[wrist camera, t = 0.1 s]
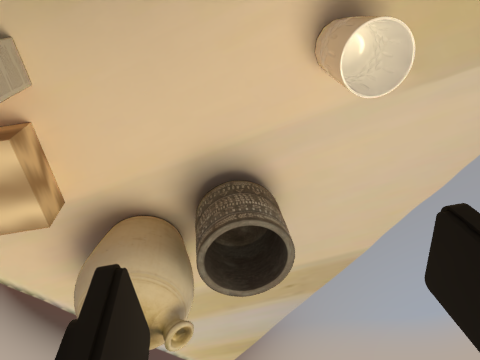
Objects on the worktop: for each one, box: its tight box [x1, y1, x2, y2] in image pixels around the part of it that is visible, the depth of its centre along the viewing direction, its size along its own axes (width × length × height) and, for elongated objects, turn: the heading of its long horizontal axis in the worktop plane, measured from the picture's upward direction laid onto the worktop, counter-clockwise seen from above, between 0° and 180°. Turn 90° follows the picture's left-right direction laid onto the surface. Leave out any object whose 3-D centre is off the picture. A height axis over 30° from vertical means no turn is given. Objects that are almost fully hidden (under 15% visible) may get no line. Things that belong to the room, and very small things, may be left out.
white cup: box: [315, 16, 415, 98], centre depth 39 cm, size 8×8×10 cm
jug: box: [74, 216, 194, 351], centre depth 43 cm, size 15×16×25 cm
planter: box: [195, 181, 295, 297], centre depth 47 cm, size 12×12×13 cm
